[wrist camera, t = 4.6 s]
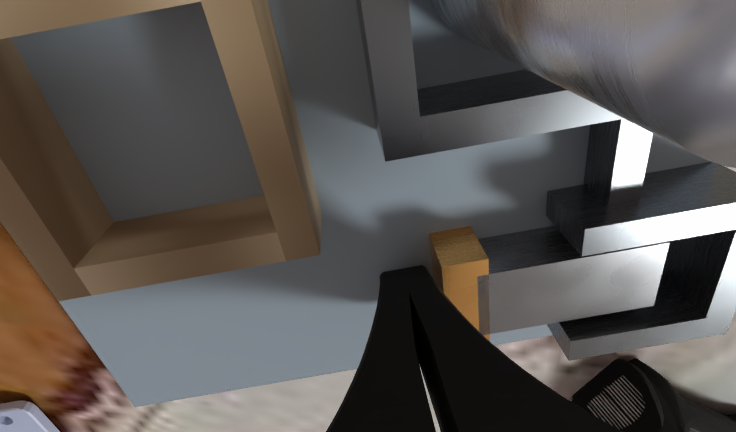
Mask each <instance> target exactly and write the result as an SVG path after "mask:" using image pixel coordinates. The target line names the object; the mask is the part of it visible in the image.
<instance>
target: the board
mask: <svg viewBox="0 0 736 432" xmlns="http://www.w3.org/2000/svg"><path fill="white" fill-rule="evenodd" d="M268 2H269V6H270V10H271V14H272V17H273V21H274V25H275V29H276V33H277V37H278V41H279V45H280V49H281V53H282V57H283V61H284V65H285V69H286V73H287V77H288V81H289V84H290V88H291V92H292V96H293V100H294V104H295V108H296V112H297V116H298V120H299V124H300V128H301V132H302V136H303V140H304V144H305V148H306V152H307V155H308V159H309V163H310V167H311V171H312V175H313V179H314V183H315V187H316V191H317V195H318V199H319V203H320V207H321V211H322V220H321V246H320V255H317V256H312V257H306V258H300V259H295V260H289V261H284V262H278V263H272V264H267V265H261V266H255V267H250V268H244V269H238V270H233V271H227V272H222V273H216V274H210V275H205V276H199V277H193V278H188V279H182V280H177V281H171V282H165V283H160V284H154V285H148V286H143V287H137V288H131V289H126V290H120V291H115V292H109V293H103V294H98V295H92V296H86V297H81V298H75V299H69V300H64V301H59V303H60V304H61V305H62V307H63V308H64V310H65V311H66V312H67V314H68V315H69V316H70V318H71V319H72V321H73V322H74V323H75V325H76V326H77V328H78V329H79V330H80V332H81V333H82V334H83V336H84V337H85V339H86V340H87V341H88V343H89V344H90V346H91V347H92V348H93V350H94V351H95V352H96V354H97V355H98V357H99V358H100V359H101V361H102V362H103V364H104V365H105V366H106V368H107V369H108V370H109V372H110V373H111V375H112V376H113V377H114V379H115V380H116V382H117V383H118V384H119V386H120V387H121V388H122V390H123V391H124V393H125V394H126V395H127V397H128V398H129V400H130V401H131V402H132V404H133V405H134V406H135V407H138V406H144V405H150V404H156V403H162V402H167V401H173V400H179V399H185V398H191V397H196V396H202V395H208V394H214V393H220V392H225V391H231V390H237V389H243V388H248V387H254V386H260V385H266V384H272V383H277V382H283V381H289V380H295V379H301V378H306V377H312V376H318V375H324V374H330V373H335V372H341V371H347V370H353V369H358V366H359V364H360V361H361V359H362V356H363V353H364V350H365V347H366V344H367V341H368V338H369V334H370V331H371V328H372V324H373V320H374V316H375V311H376V307H377V302H378V296H379V288H380V275H381V274H382V272H385V271H391V270H397V269H402V268H408V267H414V266H419V265H423V266H424V267H426V268H427V270H428V272H429V273H430V275H431V276H432V278H433V268H432V258H431V249H430V239H429V233H433V232H438V231H444V230H450V229H455V228H461V227H467V226H471V228H472V230H473V232H474V233H475V235H476V237H477V239H480V238H486V237H492V236H497V235H503V234H508V233H514V232H520V231H525V230H531V229H537V228H542V227H548V226H554V224H553V223H552V222H551V221H550V220H549V219H548V217H547V216H546V203H547V191H549V190H555V189H560V188H566V187H572V186H577V185H583V183H584V174H585V165H586V157H587V148H588V139H589V131H590V125H586V126H580V127H575V128H569V129H564V130H558V131H553V132H547V133H542V134H536V135H530V136H525V137H519V138H514V139H508V140H503V141H497V142H492V143H486V144H481V145H475V146H470V147H464V148H459V149H453V150H447V151H442V152H436V153H431V154H425V155H420V156H414V157H409V158H403V159H398V160H392V161H387V162H385V159H384V156H383V152H382V149H381V145H380V142H379V138H378V135H377V131H376V126H375V119H374V113H373V107H372V100H371V94H370V88H369V81H368V75H367V68H366V62H365V56H364V49H363V43H362V37H361V30H360V24H359V18H358V11H357V5H356V0H268ZM408 2H409V12H410V22H411V32H412V42H413V52H414V62H415V72H416V82H417V89H421V88H427V87H432V86H438V85H443V84H448V83H454V82H459V81H465V80H470V79H476V78H481V77H487V76H492V75H497V74H503V73H508V72H514V71H519V70H525V68H523V67H521V66H519V65H517V64H515V63H513V62H511V61H509V60H507V59H505V58H503V57H501V56H499V55H497V54H495V53H493V52H491V51H489V50H487V49H485V48H483V47H481V46H479V45H477V44H475V43H473V42H471V41H469V40H467V39H465V38H463V37H461V36H459V35H458V34H456V33H455V32H453V31H452V30H451V29H450V28H449V27H448V26H447V25H446V24H445V23H444V22H443V21H442V20H441V18H440V17H439V16H438V14H437V12H436V11H435V9H434V7H433V5H432V2H431V0H408ZM11 39H12V41H13V43H14V45H15V46H16V48H17V50H18V52H19V53H20V55H21V57H22V59H23V61H24V62H25V64H26V66H27V68H28V70H29V71H30V73H31V75H32V77H33V78H34V80H35V82H36V84H37V86H38V87H39V89H40V91H41V93H42V95H43V96H44V98H45V100H46V102H47V104H48V105H49V107H50V109H51V111H52V112H53V114H54V116H55V118H56V120H57V121H58V123H59V125H60V127H61V129H62V130H63V132H64V134H65V136H66V138H67V139H68V141H69V143H70V145H71V146H72V148H73V150H74V152H75V154H76V155H77V157H78V159H79V161H80V163H81V164H82V166H83V168H84V170H85V171H86V173H87V175H88V177H89V179H90V180H91V182H92V184H93V186H94V188H95V189H96V191H97V193H98V195H99V197H100V198H101V200H102V202H103V204H104V205H105V207H106V209H107V211H108V213H109V214H110V216H111V218H112V220H113V222H118V221H123V220H129V219H134V218H140V217H145V216H151V215H156V214H162V213H167V212H173V211H179V210H184V209H190V208H195V207H201V206H206V205H212V204H217V203H223V202H228V201H234V200H240V199H245V198H251V197H256V196H262V195H264V192H263V189H262V186H261V183H260V180H259V177H258V174H257V171H256V168H255V165H254V162H253V159H252V156H251V153H250V150H249V147H248V144H247V141H246V137H245V134H244V131H243V128H242V125H241V122H240V119H239V116H238V113H237V110H236V107H235V104H234V101H233V98H232V95H231V92H230V89H229V86H228V83H227V80H226V76H225V73H224V70H223V67H222V64H221V61H220V58H219V55H218V52H217V49H216V46H215V43H214V40H213V37H212V34H211V31H210V28H209V25H208V22H207V19H206V15H205V12H204V9H203V6H202V3H201V2H196V3H190V4H185V5H180V6H174V7H169V8H164V9H158V10H153V11H148V12H142V13H137V14H132V15H127V16H121V17H116V18H111V19H105V20H100V21H95V22H89V23H84V24H79V25H73V26H68V27H63V28H58V29H52V30H47V31H42V32H36V33H31V34H26V35H20V36H15V37H11ZM706 162H711V161H708V160H705V159H703V158H701V157H699V156H697V155H695V154H693V153H691V152H689V151H687V150H685V149H684V148H682V147H680V146H678V145H676V144H674V143H672V142H670V141H668V140H666V139H664V138H662V137H660V136H658V135H656V134H654V133H653V136H652V141H651V146H650V151H649V156H648V161H647V166H646V171H645V173H650V172H656V171H661V170H667V169H673V168H678V167H684V166H689V165H695V164H701V163H706ZM433 279H434V278H433ZM550 335H553V334H552V333H551V331H550V329H549V328H548V326H547V324H546V325H540V326H534V327H528V328H522V329H517V330H511V331H505V332H499V333H494V334H490V342H491V343H492V344H493V345H497V344H503V343H509V342H515V341H521V340H526V339H532V338H538V337H544V336H550Z"/></svg>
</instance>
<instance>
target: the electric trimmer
mask: <svg viewBox="0 0 736 432" xmlns="http://www.w3.org/2000/svg"><path fill="white" fill-rule="evenodd" d="M572 403H574V404H575V405H577V406H578V407H580V408H582V409H583V410H585V411H587V412H588V413H590V414H592V415H594V416H596V417H597V418H599V419H601V420H603V421H605V422H607V423H608V424H610V425H612V426H614V427H616V428H618V429H619V430H621V431H623V432H736V415H733V416H728V417H727V416H725V415H722V414H720V413H718V412H716V411H714V410H712V409H709V408H707V407H705V406H703V405H701V404H698V403H696V402H694V401H692V400H690V399H687V398H685V397H683V396H681V395H679V394H678V393H677V392H676V391H675V390H674V388H673V387H672V386H671V385H670V383H669V382H668V381H667V380H666V379H665V378H664V377H662V376H661V375H660V374H659V373H658V372H656V371H655V370H653V369H652V368H651V367H649V366H648V365H646V364H645V363H643V362H641V361H640V360H638V359H632V360H630V361H628V362H627V361H624V360H621V359H618V360H615V361H613V362H612V363H611V364H610V365H608V366H607V367H606V368H605V369H604V370H602V371H601V372H600V373H599V374H598V375H596V376H595V377H594V378H593V379H592V380H590V381H589V382H588V383H587V384H586V385H585V386H583V387H582V388H581V389H580V390H579V391H577V392H576V393H575V394H574V395H573V400H572ZM733 420H734V421H735V422H734V421H733Z"/></svg>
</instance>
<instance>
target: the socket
mask: <svg viewBox="0 0 736 432" xmlns="http://www.w3.org/2000/svg"><path fill="white" fill-rule="evenodd" d="M356 5H357V11H358V18H359V24H360V30H361V37H362V43H363V49H364V56H365V62H366V68H367V75H368V81H369V88H370V94H371V100H372V107H373V113H374V119H375V126H376V131H377V135H378V138H379V142H380V145H381V149H382V152H383V156H384V159H385V162H387V161H392V160H398V159H403V158H409V157H414V156H420V155H425V154H431V153H436V152H442V151H447V150H453V149H459V148H464V147H470V146H475V145H481V144H486V143H492V142H497V141H503V140H508V139H514V138H519V137H525V136H530V135H536V134H542V133H547V132H553V131H558V130H564V129H569V128H575V127H580V126H586V125H590V131H589V139H588V148H587V157H586V165H585V174H584V183H583V185H577V186H572V187H566V188H560V189H555V190H549V191H547V203H546V216H547V217H548V219H549V220H550V221H551V222H552V223H553V224H554V225H555V227H556V228H557V229H558V230H559V231H560V232H561V233H562V235H563V236H564V237H565V238H566V239H567V240H568V241H569V243H570V244H571V245H572V246H573V247H574V248H575V249H576V251H577V252H578V253H579V254H580V255H581V256H587V255H593V254H599V253H605V252H610V251H616V250H622V249H627V248H633V247H639V246H644V245H650V244H656V243H661V242H667V241H669V242H670V244H669V248H668V252H667V256H666V260H665V264H664V268H663V272H662V276H661V280H660V283H659V287H658V291H657V295H656V299H655V303H654V306H649V307H644V308H638V309H632V310H626V311H621V312H615V313H609V314H603V315H598V316H592V317H586V318H580V319H574V320H569V321H563V322H557V323H551V324H547V326H548V328H549V329H550V331H551V333H552V334H553V336H554V337H555V339H556V341H557V342H558V344H559V346H560V347H561V349H562V351H563V352H564V354H565V356H566V357H567V359H568V360H575V359H581V358H587V357H593V356H598V355H604V354H610V353H616V352H622V351H628V350H633V349H639V348H645V347H651V346H657V345H663V344H668V343H674V342H680V341H686V340H692V339H697V338H703V337H709V336H715V335H721V334H727V331H728V329H729V326H730V324H731V321H732V318H733V316H734V313H735V311H736V172H734V171H732V170H730V169H728V168H726V167H724V166H722V165H720V164H717V163H714V162H706V163H701V164H695V165H689V166H684V167H678V168H673V169H667V170H661V171H656V172H650V173H645V171H646V166H647V161H648V156H649V151H650V146H651V141H652V136H653V133H652V132H650V131H648V130H646V129H644V128H642V127H640V126H638V125H636V124H634V123H632V122H630V121H628V120H626V119H624V118H622V117H620V116H618V115H616V114H614V113H612V112H610V111H608V110H606V109H604V108H602V107H600V106H598V105H596V104H594V103H592V102H590V101H588V100H586V99H584V98H582V97H580V96H578V95H576V94H574V93H572V92H570V91H568V90H566V89H564V88H562V87H560V86H558V85H556V84H554V83H552V82H550V81H548V80H547V79H545V78H543V77H541V76H539V75H537V74H535V73H533V72H531V71H529V70H527V69H525V70H519V71H514V72H508V73H503V74H497V75H492V76H487V77H481V78H476V79H470V80H465V81H459V82H454V83H448V84H443V85H438V86H432V87H427V88H421V89H417V82H416V72H415V62H414V52H413V42H412V32H411V22H410V12H409V2H408V0H356Z"/></svg>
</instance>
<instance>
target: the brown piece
mask: <svg viewBox="0 0 736 432" xmlns="http://www.w3.org/2000/svg"><path fill="white" fill-rule="evenodd" d="M196 2H201V3H202V6H203V9H204V12H205V15H206V19H207V22H208V25H209V28H210V31H211V34H212V37H213V40H214V43H215V46H216V49H217V52H218V55H219V58H220V61H221V64H222V67H223V70H224V73H225V76H226V80H227V83H228V86H229V89H230V92H231V95H232V98H233V101H234V104H235V107H236V110H237V113H238V116H239V119H240V122H241V125H242V128H243V131H244V134H245V137H246V141H247V144H248V147H249V150H250V153H251V156H252V159H253V162H254V165H255V168H256V171H257V174H258V177H259V180H260V183H261V186H262V189H263V192H264V195H262V196H256V197H251V198H245V199H240V200H234V201H228V202H223V203H217V204H212V205H206V206H201V207H195V208H190V209H184V210H179V211H173V212H167V213H162V214H156V215H151V216H145V217H140V218H134V219H129V220H123V221H118V222H113V220H112V218H111V216H110V214H109V213H108V211H107V209H106V207H105V205H104V204H103V202H102V200H101V198H100V197H99V195H98V193H97V191H96V189H95V188H94V186H93V184H92V182H91V180H90V179H89V177H88V175H87V173H86V171H85V170H84V168H83V166H82V164H81V163H80V161H79V159H78V157H77V155H76V154H75V152H74V150H73V148H72V146H71V145H70V143H69V141H68V139H67V138H66V136H65V134H64V132H63V130H62V129H61V127H60V125H59V123H58V121H57V120H56V118H55V116H54V114H53V112H52V111H51V109H50V107H49V105H48V104H47V102H46V100H45V98H44V96H43V95H42V93H41V91H40V89H39V87H38V86H37V84H36V82H35V80H34V78H33V77H32V75H31V73H30V71H29V70H28V68H27V66H26V64H25V62H24V61H23V59H22V57H21V55H20V53H19V52H18V50H17V48H16V46H15V45H14V43H13V41H12V39H11V37H15V36H20V35H26V34H31V33H36V32H42V31H47V30H52V29H58V28H63V27H68V26H73V25H79V24H84V23H89V22H95V21H100V20H105V19H111V18H116V17H121V16H127V15H132V14H137V13H142V12H148V11H153V10H158V9H164V8H169V7H174V6H180V5H185V4H190V3H196ZM321 220H322V211H321V207H320V203H319V199H318V195H317V191H316V187H315V183H314V179H313V175H312V171H311V167H310V163H309V159H308V155H307V152H306V148H305V144H304V140H303V136H302V132H301V128H300V124H299V120H298V116H297V112H296V108H295V104H294V100H293V96H292V92H291V88H290V84H289V81H288V77H287V73H286V69H285V65H284V61H283V57H282V53H281V49H280V45H279V41H278V37H277V33H276V29H275V25H274V21H273V17H272V14H271V10H270V6H269V2H268V0H0V222H1V223H2V225H3V226H4V228H5V229H6V230H7V232H8V233H9V235H10V236H11V237H12V239H13V240H14V241H15V243H16V244H17V246H18V247H19V248H20V250H21V251H22V253H23V254H24V255H25V257H26V258H27V259H28V261H29V262H30V264H31V265H32V266H33V268H34V269H35V270H36V272H37V273H38V275H39V276H40V277H41V279H42V280H43V282H44V283H45V284H46V286H47V287H48V288H49V290H50V291H51V293H52V294H53V295H54V297H55V298H56V300H57V301H64V300H69V299H75V298H81V297H86V296H92V295H98V294H103V293H109V292H115V291H120V290H126V289H131V288H137V287H143V286H148V285H154V284H160V283H165V282H171V281H177V280H182V279H188V278H193V277H199V276H205V275H210V274H216V273H222V272H227V271H233V270H238V269H244V268H250V267H255V266H261V265H267V264H272V263H278V262H284V261H289V260H295V259H300V258H306V257H312V256H317V255H320V246H321Z"/></svg>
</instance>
